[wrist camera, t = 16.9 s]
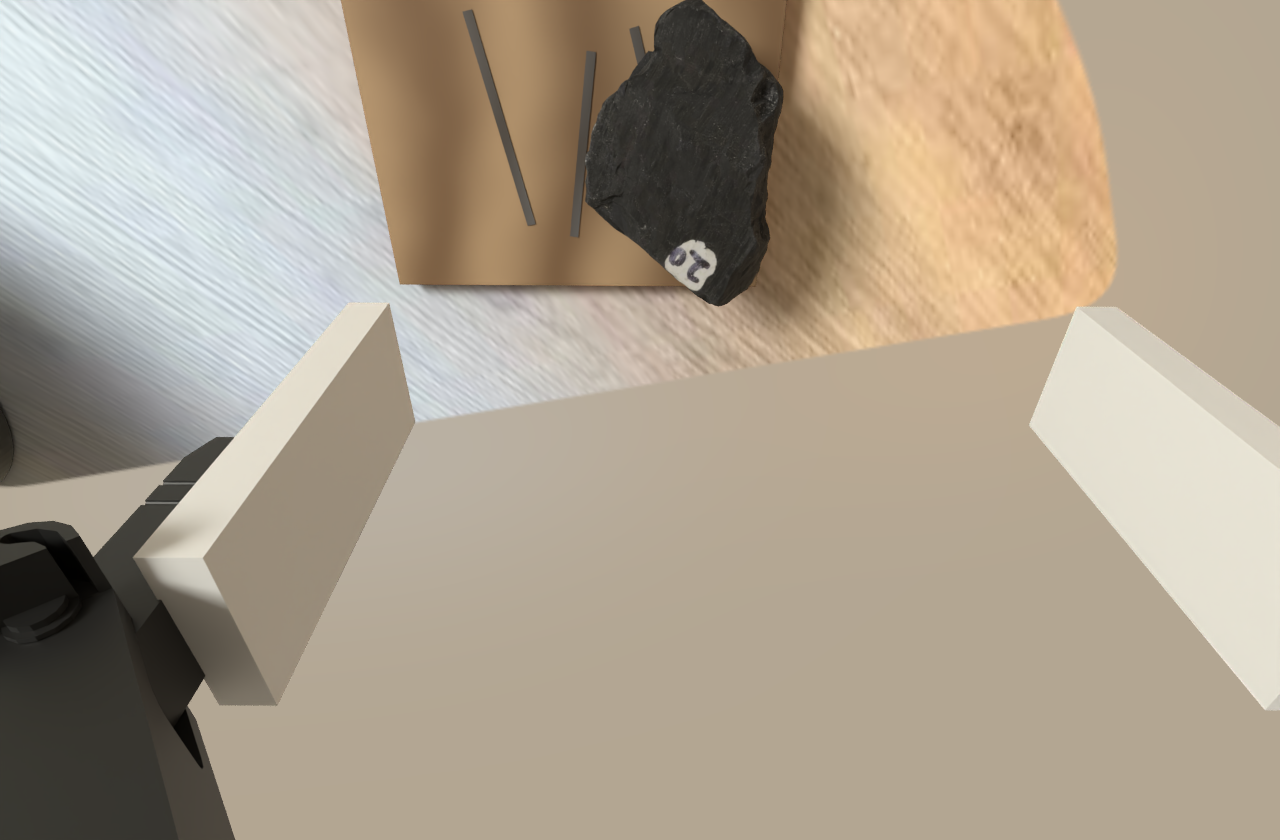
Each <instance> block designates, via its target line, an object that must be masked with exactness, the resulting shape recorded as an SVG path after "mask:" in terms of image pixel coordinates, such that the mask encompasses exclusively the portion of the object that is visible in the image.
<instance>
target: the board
mask: <svg viewBox="0 0 1280 840" xmlns="http://www.w3.org/2000/svg"><path fill="white" fill-rule="evenodd" d="M682 1H684V0H341V3H342V8H343V13H344V18H345V23H346V27H347V32H348V37H349V42H350V47H351V51H352V56H353V61H354V66H355V71H356V75H357V80H358V85H359V90H360V95H361V99H362V104H363V109H364V114H365V119H366V124H367V128H368V133H369V138H370V143H371V148H372V152H373V157H374V162H375V167H376V172H377V176H378V181H379V186H380V191H381V196H382V200H383V205H384V210H385V215H386V220H387V224H388V229H389V234H390V239H391V244H392V248H393V253H394V258H395V263H396V268H397V272H398V277H399V282H400V284H424V285H582V286H685V285H684V284H682V283H681V282H679V281H678V280H676V279H675V278H674V277H673V276H672V275H671V274H670V273H669V272H668V271H667V270H665V269H664V268H663V267H662V266H661V265H660V264H659V263H658V262H656V261H655V260H654V259H653V258H652V257H651V256H650V255H649V254H648V253H647V252H646V251H645V250H643V249H642V248H641V247H640V246H639V245H638V244H636V243H635V242H634V241H632V240H631V239H630V238H628V237H627V236H625V235H624V234H622V233H620V232H619V231H617V230H616V229H614V228H613V227H612V226H611V225H610V224H609V223H608V222H607V221H605V220H604V219H603V218H602V217H601V216H600V215H599V214H598V213H597V212H596V211H595V210H594V209H593V208H592V207H590V206H589V205H588V204H587V203H586V202H585V197H586V184H585V180H586V176H587V170H586V165H585V158H586V154H587V152H588V151H589V147H590V142H591V133H592V129H593V126H594V125H595V123H596V121H597V116H598V113H599V112H600V110H601V108H602V104H603V103H604V101H605V100H606V99H607V98H608V97H609V96H611V95H612V94H613V93H615V92H616V91H617V90H618V89H619V87H620V85H621V84H622V83H623V82H624V81H625V80H628V79H629V77H630V75H631V73H632V71H633V70H634V69H635V67H636V66H637V65H638V63H639V62H640V61H641V60H642V58H643V57H644V56H645V54H646V53H647V52H648V51H652V52H653V51H654V31H655V24H656V23H657V21H658V19H659V17H660V16H661V15H662V14H663V13H664V12H665V11H666V10H668V9H669V8H671V7H673V6H675V5H676V4H678V3H680V2H682ZM703 1H704V2H705V3H706V4H707V5H708V6H709V7H711V8H712V9H713V10H714V11H715V12H716V13H717V14H718V16H719V17H720V18H721V19H723V20H724V21H726V22H728V23H729V24H730V25H731V26H732V27H733V28H734V29H736V30H737V31H738V32H739V33H740V34H741V35H742V36H743V37H745V39H746V40H747V42H748V43H749V45H750V46H751V48H752V51H753V53H754V55H755V57H756V59H757V61H758V62H759V63H761V64H762V65H764V66H765V67H766V68H767V69H768V70H769V71H770V72H771V73H772V74H773V76H774V77H775V78H776V80H777V81H778V76H779V67H780V58H781V49H782V39H783V30H784V21H785V12H786V2H787V0H703ZM767 178H768V176H767ZM756 279H757V275H756V276H755V278H754V280H753V282H752V284H751V285H750V286H749V287H756Z"/></svg>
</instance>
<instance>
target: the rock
mask: <svg viewBox="0 0 1280 840" xmlns="http://www.w3.org/2000/svg"><path fill="white" fill-rule="evenodd" d="M782 103H783V89H782V87H781V85H780V84H779V82H778V81H777V80H776V78H775V77H774V76H773V74H772V73H771V72H770V71H769V70H768V69H767V68H766V67H765V66H764V65H762V64H761V63H759V62H758V61H757V59H756V57H755V55H754V53H753V51H752V48H751V46H750V45H749V43H748V42H747V40H746V39H745V37H743V36H742V35H741V34H740V33H739V32H738V31H737V30H736V29H734V28H733V27H732V26H731V25H730V24H729V23H728V22H726V21H724V20H723V19H721V18H720V17H719V16H718V14H717V13H716V12H715V11H714V10H713V9H712V8H711V7H709V6H708V5H707V4H706V3H705V2H704V1H703V0H684V1H682V2H680V3H678V4H676V5H675V6H673V7H671V8H669V9H668V10H666V11H665V12H664V13H663V14H662V15H661V16H660V17H659V19H658V21H657V23H656V24H655V31H654V51H653V52H652V51H648V52H647V53H646V54H645V56H644V57H643V58H642V60H641V61H640V62H639V63H638V65H637V66H636V67H635V69H634V70H633V71H632V73H631V75H630V77H629V79H628V80H625V81H624V82H623V83H622V84H621V85H620V87H619V89H618V90H617V91H616V92H615V93H613V94H612V95H611V96H609V97H608V98H607V99H606V100H605V101H604V103H603V104H602V108H601V110H600V112H599V113H598V116H597V121H596V123H595V125H594V126H593V129H592V133H591V142H590V147H589V151H588V152H587V154H586V158H585V165H586V170H587V176H586V180H585V184H586V197H585V202H586V203H587V204H588V205H589V206H590V207H592V208H593V209H594V210H595V211H596V212H597V213H598V214H599V215H600V216H601V217H602V218H603V219H604V220H605V221H607V222H608V223H609V224H610V225H611V226H612V227H613V228H614V229H616V230H617V231H619V232H620V233H622V234H624V235H625V236H627V237H628V238H630V239H631V240H632V241H634V242H635V243H636V244H638V245H639V246H640V247H641V248H642V249H643V250H645V251H646V252H647V253H648V254H649V255H650V256H651V257H652V258H653V259H654V260H655V261H656V262H658V263H659V264H660V265H661V266H662V267H663V268H664V269H665V270H667V271H668V272H669V273H670V274H671V275H672V276H673V277H674V278H675V279H676V280H678V281H679V282H681V283H682V284H684V285H685V286H686V287H687V288H688V289H689V290H691V291H692V292H693V293H694V294H695V295H697V296H698V297H700V298H702V299H703V300H705V301H706V302H707V303H709V304H713V305H716V306H722V305H725V304H727V303H728V302H730V301H731V300H732V299H733V298H735V297H736V296H737V295H739V294H740V293H742V292H743V291H745V290H747V289H748V287H749V286H750V285H751V284H752V282H753V280H754V278H755V276H756V275H757V273H758V271H759V268H760V263H761V261H762V259H763V257H764V255H765V253H766V251H767V244H768V242H769V240H770V234H769V228H768V225H767V223H766V220H765V215H766V211H765V208H766V201H767V197H768V192H767V176H768V171H769V168H770V166H771V155H772V149H773V141H774V133H775V130H776V127H777V123H778V118H779V116H780V113H781V109H782Z"/></svg>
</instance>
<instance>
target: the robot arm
mask: <svg viewBox="0 0 1280 840" xmlns="http://www.w3.org/2000/svg"><path fill="white" fill-rule="evenodd" d="M414 424H415V418H414V414H413V409H412V405H411V400H410V396H409V391H408V387H407V382H406V378H405V373H404V368H403V364H402V359H401V355H400V350H399V346H398V341H397V337H396V332H395V328H394V323H393V319H392V314H391V310H390V305H389V303H348V304H347V305H346V306H345V308H344V309H343V310H342V311H341V312H340V314H339V315H338V316H337V317H336V318H335V319H334V321H333V322H332V323H331V324H330V325H329V327H328V328H327V329H326V330H325V331H324V332H323V334H322V335H321V336H320V337H319V338H318V340H317V341H316V342H315V343H314V344H313V345H312V347H311V348H310V349H309V350H308V351H307V353H306V354H305V355H304V356H303V357H302V358H301V360H300V361H299V362H298V363H297V364H296V365H295V367H294V368H293V369H292V370H291V371H290V373H289V374H288V375H287V376H286V377H285V378H284V380H283V381H282V382H281V383H280V384H279V386H278V387H277V388H276V389H275V390H274V391H273V393H272V394H271V395H270V396H269V397H268V399H267V400H266V401H265V402H264V403H263V404H262V406H261V407H260V408H259V409H258V410H257V412H256V413H255V414H254V415H253V416H252V417H251V419H250V420H249V421H248V422H247V423H246V424H245V426H244V427H243V428H242V429H241V430H240V432H239V433H238V434H237V435H236V436H235V437H216V438H214V439H213V440H211V441H210V442H208V443H206V444H205V445H203V446H202V447H200V448H198V449H197V450H195V451H194V452H192V453H191V454H189V455H187V456H186V457H184V458H183V460H182V461H181V462H180V463H179V464H178V465H177V466H176V467H175V469H173V471H172V472H171V473H170V474H169V475H168V476H167V477H166V478H165V479H164V480H163V482H164V483H163V485H159V486H158V487H157V488H156V489H155V490H154V491H153V492H152V494H151V495H150V496H149V497H148V498H147V499H146V500H145V501H146V504H145V505H141V506H140V507H139V508H138V509H137V510H136V511H135V512H134V513H133V514H132V515H131V516H130V518H129V519H128V520H127V521H126V522H125V523H124V524H123V525H122V526H121V528H120V529H119V530H118V531H117V532H116V533H115V534H114V535H113V536H112V537H111V538H110V540H109V541H108V542H107V543H106V544H105V545H104V546H103V547H102V549H100V550H99V552H98V553H97V554H96V555H95V556H94V557H93V556H92V555H91V553H90V551H89V550H88V548H87V547H86V545H85V544H84V542H83V540H82V539H81V537H80V536H79V534H78V533H77V532H76V531H75V529H74V528H73V527H72V526H71V525H67V524H63V523H59V522H55V521H47V522H32V523H26V524H22V525H19V526H15V527H11V528H7V529H4V530H0V840H235V838H234V835H233V832H232V829H231V825H230V823H229V820H228V816H227V813H226V810H225V807H224V804H223V801H222V798H221V795H220V792H219V789H218V786H217V783H216V779H215V777H214V773H213V770H212V767H211V764H210V761H209V758H208V755H207V752H206V749H205V746H204V743H203V740H202V737H201V733H200V730H199V727H198V724H197V721H196V719H195V717H194V716H193V714H192V712H191V711H190V709H189V708H188V706H187V705H188V704H189V702H190V700H191V699H192V697H193V695H194V694H195V692H196V690H197V689H198V687H199V685H200V684H201V682H202V681H203V679H204V680H205V681H206V683H207V685H208V686H209V688H210V690H211V691H212V693H213V695H214V697H215V698H216V700H217V702H218V703H219V705H278V703H279V701H280V699H281V697H282V695H283V693H284V691H285V688H286V687H287V685H288V683H289V681H290V678H291V676H292V674H293V672H294V670H295V668H296V666H297V664H298V662H299V660H300V658H301V656H302V654H303V652H304V650H305V648H306V646H307V644H308V641H309V639H310V637H311V635H312V633H313V631H314V629H315V627H316V625H317V623H318V621H319V619H320V617H321V615H322V612H323V611H324V608H325V607H326V604H327V602H328V600H329V598H330V596H331V594H332V592H333V590H334V588H335V586H336V584H337V582H338V580H339V578H340V576H341V574H342V572H343V569H344V567H345V565H346V563H347V561H348V559H349V557H350V555H351V553H352V551H353V549H354V547H355V545H356V543H357V541H358V539H359V537H360V535H361V533H362V530H363V528H364V526H365V524H366V522H367V520H368V518H369V516H370V514H371V512H372V510H373V508H374V506H375V504H376V502H377V500H378V498H379V496H380V494H381V491H382V489H383V487H384V485H385V483H386V481H387V479H388V477H389V475H390V473H391V471H392V469H393V467H394V464H395V463H396V461H397V459H398V456H399V454H400V452H401V450H402V448H403V446H404V444H405V442H406V440H407V438H408V436H409V434H410V432H411V430H412V428H413V426H414ZM1029 426H1030V427H1031V428H1032V429H1033V431H1034V432H1035V433H1036V434H1037V436H1038V437H1039V438H1040V439H1041V440H1042V442H1043V443H1044V444H1045V445H1046V446H1047V448H1048V449H1049V450H1050V451H1051V452H1052V454H1053V455H1054V456H1055V457H1056V458H1057V460H1058V461H1059V462H1060V463H1061V464H1062V466H1063V467H1064V468H1065V469H1066V471H1067V472H1068V473H1069V474H1070V475H1071V477H1072V478H1073V479H1074V480H1075V481H1076V483H1077V484H1078V485H1079V486H1080V487H1081V489H1082V490H1083V491H1084V492H1085V493H1086V495H1087V496H1088V497H1089V498H1090V499H1091V501H1092V502H1093V503H1094V504H1095V505H1096V507H1097V508H1098V509H1099V510H1100V512H1101V513H1102V514H1103V515H1104V516H1105V518H1106V519H1107V520H1108V521H1109V522H1110V524H1111V525H1112V526H1113V527H1114V528H1115V530H1116V531H1117V532H1118V533H1119V535H1121V537H1122V538H1123V539H1124V541H1125V542H1126V543H1127V544H1128V545H1129V546H1130V548H1131V549H1132V550H1133V551H1134V552H1135V554H1136V555H1137V556H1138V557H1139V559H1140V560H1141V561H1142V562H1143V563H1144V565H1145V566H1146V567H1147V568H1148V569H1149V571H1150V572H1151V573H1152V574H1153V576H1154V577H1155V578H1156V579H1157V580H1158V582H1159V583H1160V584H1161V585H1162V586H1163V587H1164V589H1165V590H1166V591H1167V592H1168V594H1169V595H1170V596H1171V597H1172V598H1173V599H1174V601H1175V602H1176V603H1177V605H1178V606H1179V607H1180V608H1181V609H1182V611H1183V612H1184V613H1185V614H1186V615H1187V616H1188V618H1189V619H1190V620H1191V621H1192V622H1193V624H1194V625H1195V626H1196V627H1197V629H1198V630H1199V631H1200V632H1201V633H1202V634H1203V636H1204V637H1205V638H1206V639H1207V641H1208V642H1209V643H1210V644H1211V645H1212V647H1213V648H1214V649H1215V650H1216V652H1217V653H1218V654H1219V655H1220V656H1221V657H1222V659H1223V660H1224V661H1225V662H1226V664H1227V665H1228V666H1229V667H1230V668H1231V670H1232V671H1233V672H1234V673H1235V675H1236V676H1237V677H1238V678H1239V679H1240V681H1241V682H1242V683H1243V684H1244V685H1245V687H1246V688H1247V689H1248V690H1249V691H1250V692H1251V694H1252V695H1253V696H1254V697H1255V699H1256V700H1257V701H1258V702H1259V703H1260V705H1261V706H1262V707H1263V708H1264V710H1280V427H1279V426H1278V425H1276V424H1275V423H1274V422H1272V421H1271V420H1270V419H1268V418H1267V417H1265V416H1264V415H1263V414H1261V413H1260V412H1259V411H1257V410H1256V409H1255V408H1253V407H1252V406H1251V405H1249V404H1248V403H1247V402H1245V401H1244V400H1242V399H1241V398H1240V397H1238V396H1237V395H1235V394H1234V393H1233V392H1232V391H1230V390H1229V389H1227V388H1226V387H1225V386H1223V385H1222V384H1221V383H1219V382H1218V381H1216V380H1215V379H1214V378H1213V377H1211V376H1210V375H1208V374H1207V373H1206V372H1204V371H1203V370H1202V369H1200V368H1199V367H1198V366H1196V365H1195V364H1193V363H1192V362H1191V361H1189V360H1188V359H1187V358H1185V357H1184V356H1183V355H1181V354H1180V353H1179V352H1177V351H1176V350H1174V349H1173V348H1172V347H1170V346H1169V345H1168V344H1166V343H1165V342H1163V341H1162V340H1161V339H1159V338H1158V337H1157V336H1155V335H1154V334H1153V333H1151V332H1150V331H1149V330H1147V329H1146V328H1145V327H1143V326H1142V325H1140V324H1139V323H1138V322H1136V321H1135V320H1134V319H1132V318H1131V317H1130V316H1128V315H1127V314H1125V313H1124V312H1123V311H1121V310H1120V309H1119V308H1117V307H1076V310H1075V312H1074V315H1073V317H1072V320H1071V322H1070V325H1069V327H1068V330H1067V333H1066V335H1065V337H1064V340H1063V342H1062V345H1061V347H1060V350H1059V352H1058V355H1057V357H1056V360H1055V362H1054V365H1053V367H1052V369H1051V372H1050V375H1049V377H1048V379H1047V382H1046V384H1045V387H1044V389H1043V392H1042V394H1041V397H1040V399H1039V402H1038V404H1037V407H1036V409H1035V412H1034V414H1033V417H1032V419H1031V422H1030V424H1029ZM12 459H13V441H12V436H11V432H10V429H9V426H8V424H7V421H6V419H5V417H4V415H3V413H2V411H1V409H0V482H1V481H2V480H3V479H4V477H5V476H6V475H7V473H8V471H9V469H10V467H11V463H12Z"/></svg>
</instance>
